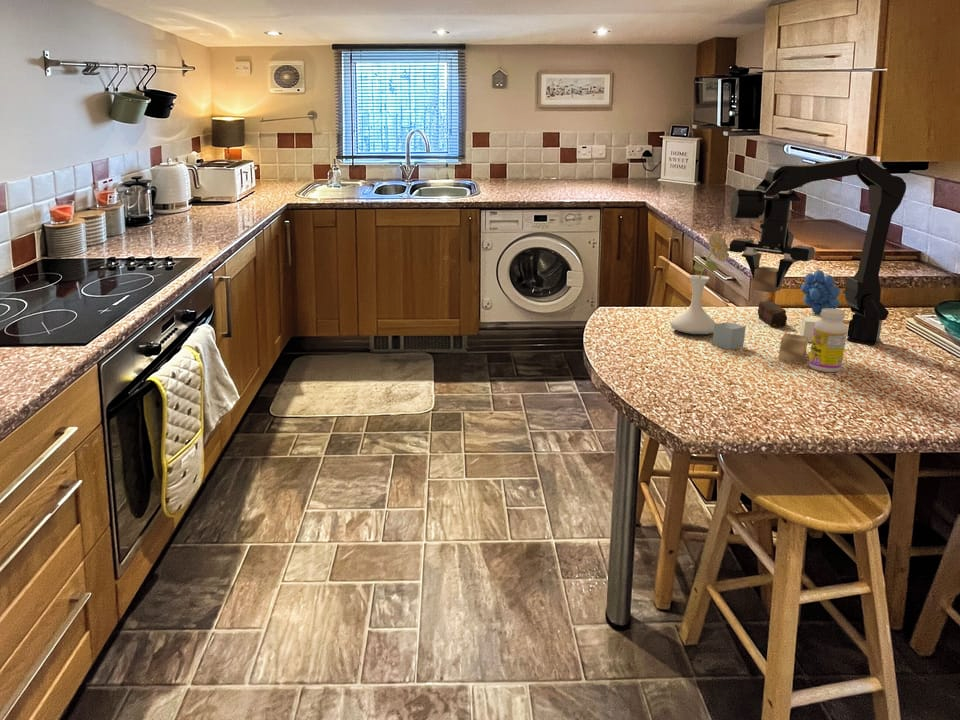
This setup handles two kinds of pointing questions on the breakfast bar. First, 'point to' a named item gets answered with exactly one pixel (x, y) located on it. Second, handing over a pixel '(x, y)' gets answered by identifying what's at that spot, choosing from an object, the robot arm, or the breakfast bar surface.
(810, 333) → the cream cube
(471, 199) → the breakfast bar surface
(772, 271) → the walnut cube
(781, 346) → the oak cube
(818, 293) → the grapes
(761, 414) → the breakfast bar surface
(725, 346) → the slate blue cube
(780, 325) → the brick
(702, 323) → the flower in vase
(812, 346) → the supplement bottle
